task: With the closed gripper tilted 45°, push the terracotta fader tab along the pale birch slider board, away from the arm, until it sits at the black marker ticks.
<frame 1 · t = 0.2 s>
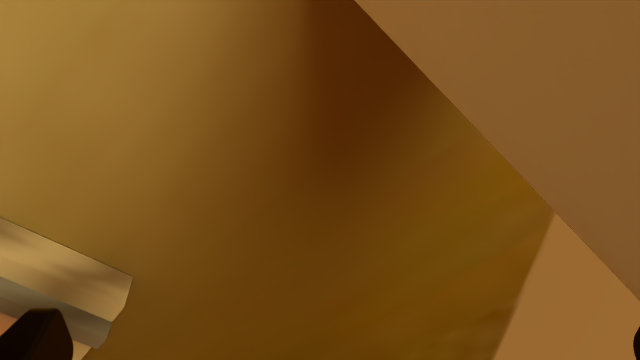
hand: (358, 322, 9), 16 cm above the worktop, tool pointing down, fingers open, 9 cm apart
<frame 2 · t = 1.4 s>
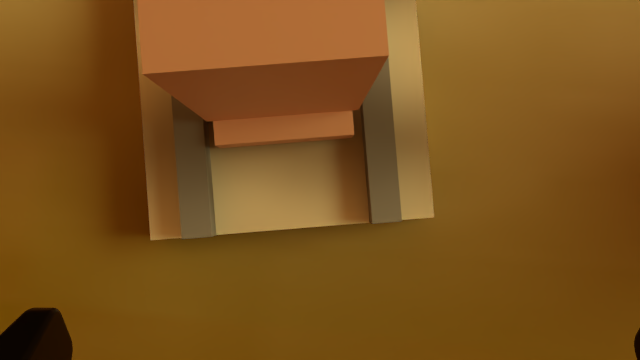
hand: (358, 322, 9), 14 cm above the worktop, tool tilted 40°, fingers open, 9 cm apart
fader tab: (274, 56, 17), point 7 cm above the worktop, slide at 0.0 cm
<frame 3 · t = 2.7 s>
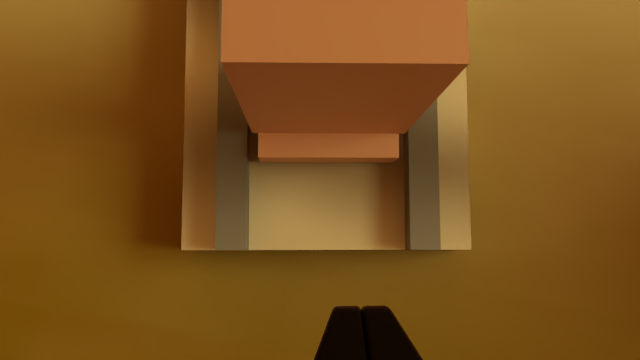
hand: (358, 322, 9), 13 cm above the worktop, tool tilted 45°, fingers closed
fader tab: (333, 68, 17), point 7 cm above the worktop, slide at 0.0 cm
slider board: (324, 19, 24), on the worktop
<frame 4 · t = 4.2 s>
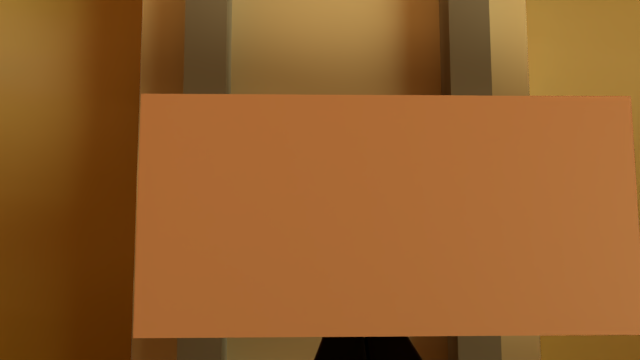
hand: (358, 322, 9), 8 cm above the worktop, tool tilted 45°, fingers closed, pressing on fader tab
fader tab: (353, 228, 10), point 7 cm above the worktop, slide at 1.0 cm, touching gripper
slider board: (332, 130, 17), on the worktop
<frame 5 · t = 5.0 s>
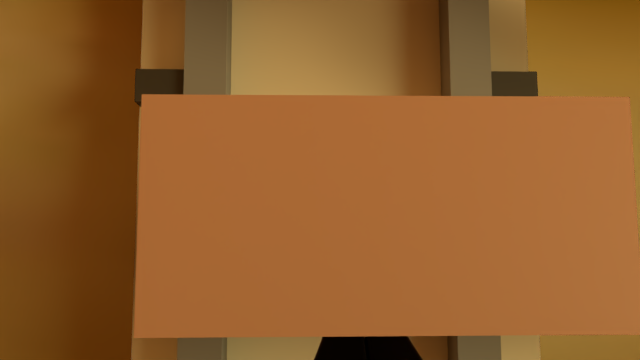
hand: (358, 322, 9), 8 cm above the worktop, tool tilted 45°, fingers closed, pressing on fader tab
fader tab: (353, 228, 10), point 7 cm above the worktop, slide at 5.4 cm, touching gripper
slider board: (333, 287, 17), on the worktop
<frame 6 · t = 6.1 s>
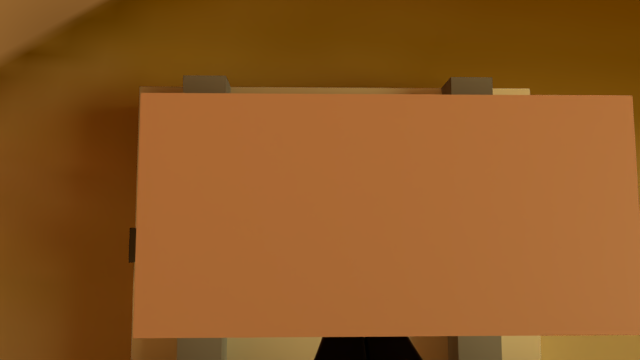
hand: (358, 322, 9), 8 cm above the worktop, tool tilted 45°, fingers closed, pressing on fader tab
fader tab: (353, 227, 10), point 7 cm above the worktop, slide at 9.3 cm, touching gripper
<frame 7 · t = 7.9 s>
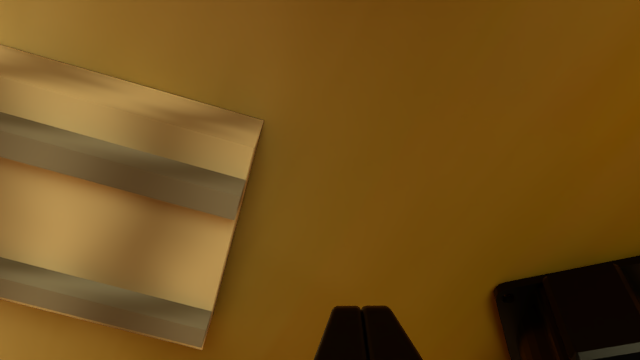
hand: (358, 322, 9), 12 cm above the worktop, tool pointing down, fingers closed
slider board: (7, 166, 23), on the worktop
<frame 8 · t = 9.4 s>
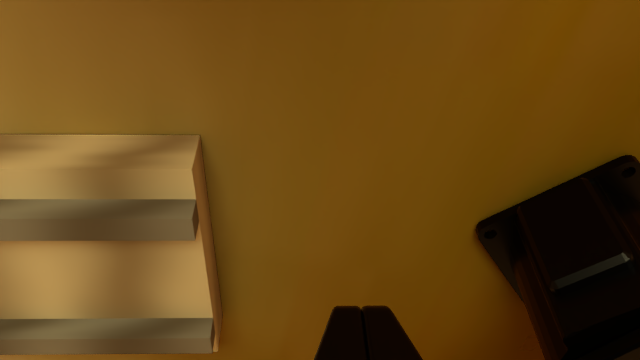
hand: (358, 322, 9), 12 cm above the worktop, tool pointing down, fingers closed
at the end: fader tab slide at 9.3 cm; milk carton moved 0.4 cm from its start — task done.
